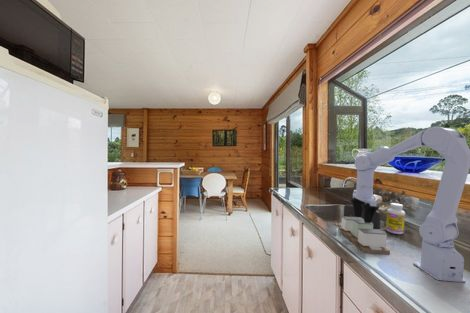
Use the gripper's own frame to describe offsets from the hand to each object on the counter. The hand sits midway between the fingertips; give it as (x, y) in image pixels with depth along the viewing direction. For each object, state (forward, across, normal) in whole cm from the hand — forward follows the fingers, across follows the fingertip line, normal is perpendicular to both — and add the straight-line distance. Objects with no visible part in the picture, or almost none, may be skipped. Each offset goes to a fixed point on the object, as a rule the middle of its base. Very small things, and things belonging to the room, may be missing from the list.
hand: (362, 219), depth 90 cm
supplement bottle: (+9, +13, -21) cm, 27 cm away
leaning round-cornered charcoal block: (+9, +17, -8) cm, 21 cm away
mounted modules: (+7, 0, 0) cm, 7 cm away
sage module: (+7, 0, 0) cm, 7 cm away
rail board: (+9, 0, 0) cm, 9 cm away
